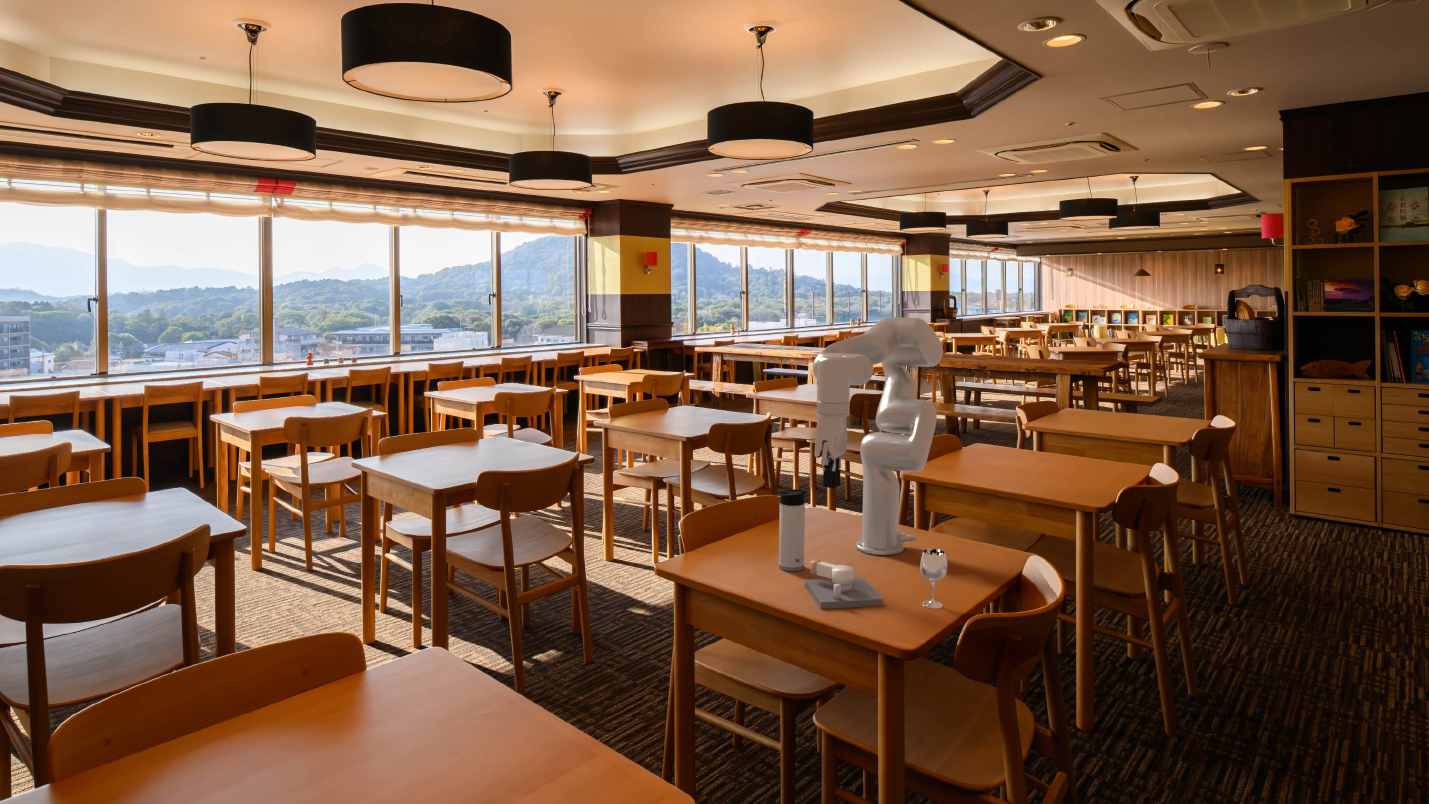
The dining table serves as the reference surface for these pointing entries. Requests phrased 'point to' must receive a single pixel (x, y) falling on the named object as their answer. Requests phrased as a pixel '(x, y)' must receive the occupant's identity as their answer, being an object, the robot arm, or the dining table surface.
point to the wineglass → (933, 571)
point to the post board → (843, 593)
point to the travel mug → (791, 530)
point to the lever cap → (833, 572)
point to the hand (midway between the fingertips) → (831, 485)
